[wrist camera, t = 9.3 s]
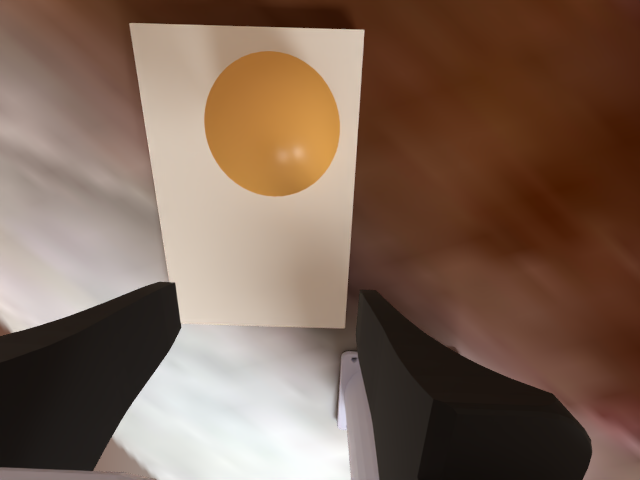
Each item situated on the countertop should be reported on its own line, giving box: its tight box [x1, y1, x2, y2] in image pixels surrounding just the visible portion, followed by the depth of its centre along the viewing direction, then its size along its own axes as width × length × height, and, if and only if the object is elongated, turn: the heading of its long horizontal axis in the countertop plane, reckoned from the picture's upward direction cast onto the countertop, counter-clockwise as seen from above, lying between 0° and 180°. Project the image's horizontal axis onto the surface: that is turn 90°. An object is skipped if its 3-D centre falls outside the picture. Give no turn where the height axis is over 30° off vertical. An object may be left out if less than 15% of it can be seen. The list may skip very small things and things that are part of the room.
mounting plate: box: [129, 23, 364, 328], centre depth 17 cm, size 12×18×5 cm, turn 178°
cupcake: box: [204, 51, 340, 197], centre depth 14 cm, size 6×6×5 cm
